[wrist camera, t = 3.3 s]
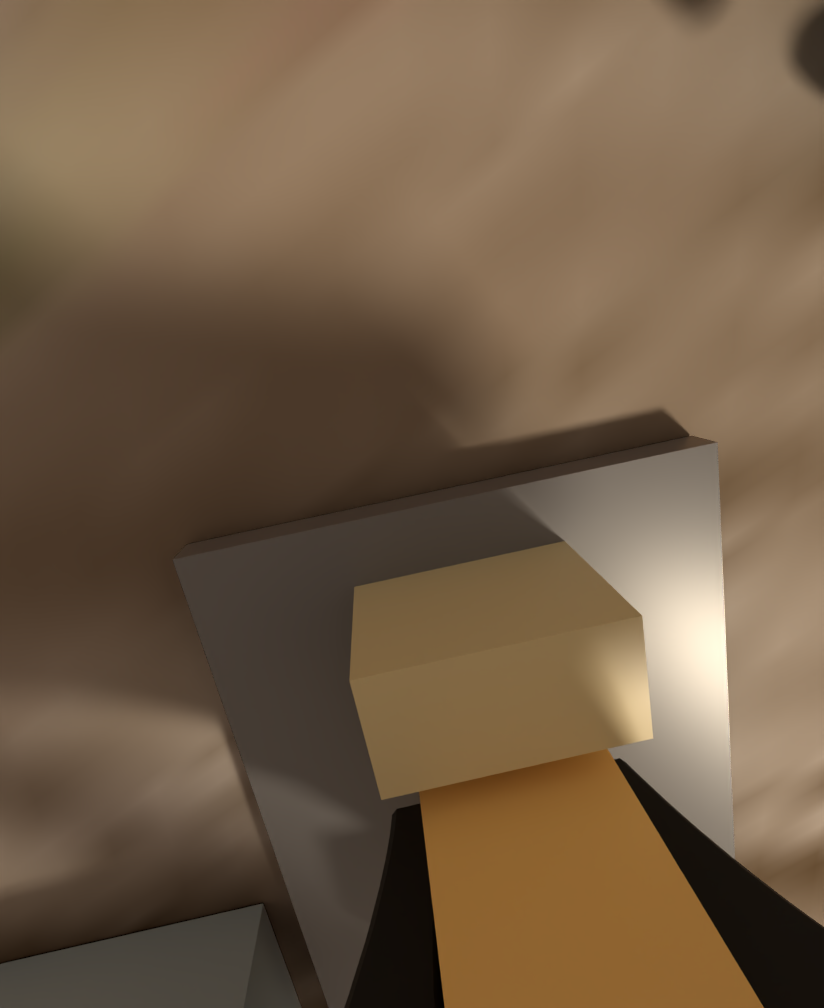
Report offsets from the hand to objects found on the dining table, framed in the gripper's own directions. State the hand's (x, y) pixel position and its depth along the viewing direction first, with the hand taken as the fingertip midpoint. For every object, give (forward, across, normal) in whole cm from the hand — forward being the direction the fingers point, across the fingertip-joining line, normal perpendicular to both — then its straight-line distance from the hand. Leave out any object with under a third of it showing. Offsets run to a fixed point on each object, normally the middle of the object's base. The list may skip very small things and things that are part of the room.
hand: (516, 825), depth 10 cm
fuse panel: (+2, 0, 0) cm, 2 cm away
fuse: (+1, 0, 0) cm, 1 cm away
